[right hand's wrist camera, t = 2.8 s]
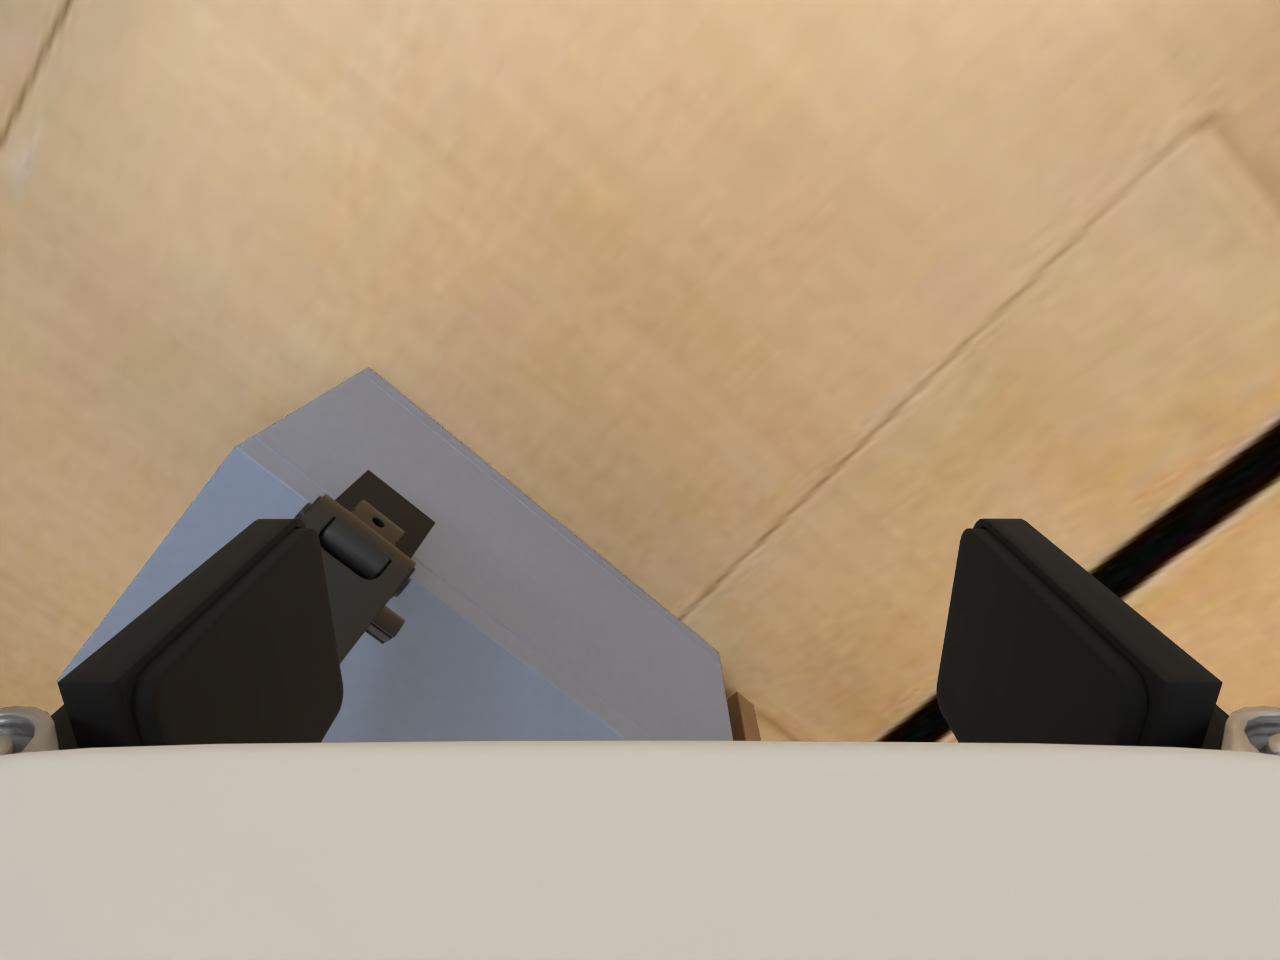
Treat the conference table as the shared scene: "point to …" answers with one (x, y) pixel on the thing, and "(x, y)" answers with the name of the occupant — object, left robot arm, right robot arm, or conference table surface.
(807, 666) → the conference table surface
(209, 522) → the grey box
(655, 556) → the conference table surface
